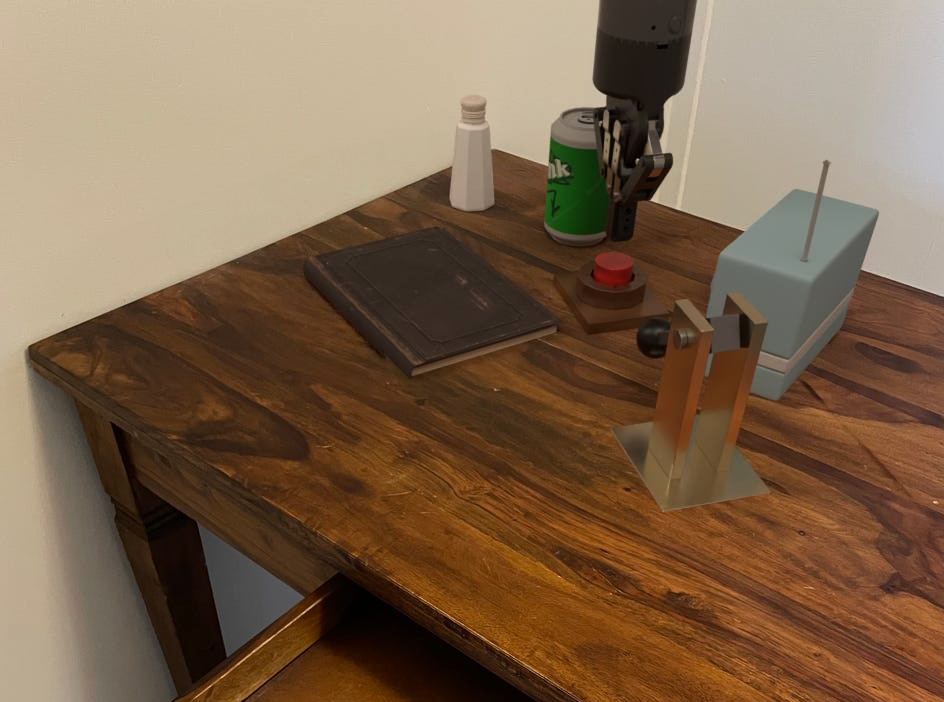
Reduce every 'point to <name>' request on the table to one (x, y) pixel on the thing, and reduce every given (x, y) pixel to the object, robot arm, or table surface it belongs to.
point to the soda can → (575, 181)
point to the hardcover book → (427, 299)
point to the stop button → (613, 268)
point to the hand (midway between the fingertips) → (618, 238)
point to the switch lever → (657, 332)
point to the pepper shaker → (472, 159)
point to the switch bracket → (706, 434)
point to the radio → (795, 279)
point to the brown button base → (608, 300)
